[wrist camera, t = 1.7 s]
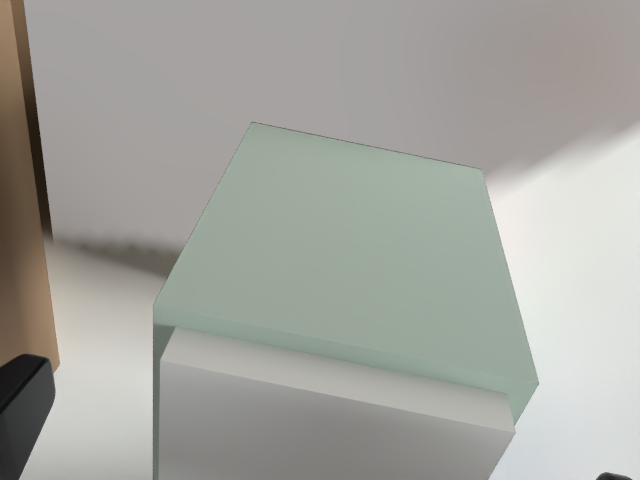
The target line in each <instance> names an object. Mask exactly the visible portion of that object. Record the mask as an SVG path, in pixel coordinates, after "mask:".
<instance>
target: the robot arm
mask: <svg viewBox="0 0 640 480" xmlns="http://www.w3.org/2000/svg"><path fill="white" fill-rule="evenodd" d="M54 399H55V383H54V377H53V370H52V364H51V361H50V359H49V358H47V357H44V356H39V355H34V354H29V353H25V354H21V355H19V356H17V357H15V358H14V359H12V360H10V361H9V362H7V363H6V364H4V365H2V366H1V367H0V480H19V478H20V476H21V474H22V472H23V469H24V467H25V465H26V463H27V461H28V458H29V456H30V454H31V452H32V450H33V447H34V445H35V443H36V441H37V438H38V436H39V434H40V432H41V430H42V427H43V425H44V423H45V421H46V419H47V416H48V414H49V412H50V410H51V407H52V405H53V402H54ZM596 480H632V479H631V478H629V477H626V476H623V475H618V474H613V473H608V472H605V473H602V474H600V475H599V476H598V478H597V479H596Z"/></svg>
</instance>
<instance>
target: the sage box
mask: <svg viewBox="0 0 640 480" xmlns="http://www.w3.org/2000/svg"><path fill="white" fill-rule="evenodd" d="M538 385H539V381H538V377H537V374H536V370H535V366H534V362H533V359H532V355H531V351H530V347H529V344H528V340H527V336H526V333H525V329H524V325H523V321H522V318H521V314H520V310H519V306H518V303H517V299H516V295H515V292H514V288H513V284H512V280H511V277H510V273H509V269H508V265H507V262H506V258H505V254H504V250H503V247H502V243H501V239H500V236H499V232H498V228H497V224H496V221H495V217H494V213H493V209H492V206H491V202H490V198H489V195H488V191H487V187H486V183H485V180H484V176H483V172H482V169H480V168H475V167H470V166H465V165H461V164H456V163H451V162H446V161H441V160H436V159H431V158H427V157H422V156H417V155H412V154H407V153H402V152H398V151H392V150H388V149H383V148H378V147H373V146H369V145H364V144H359V143H354V142H349V141H344V140H339V139H335V138H329V137H325V136H320V135H315V134H310V133H305V132H301V131H296V130H291V129H286V128H281V127H276V126H271V125H266V124H262V123H256V122H252V123H251V125H250V126H249V128H248V130H247V132H246V134H245V135H244V137H243V139H242V141H241V143H240V145H239V147H238V149H237V150H236V152H235V154H234V156H233V158H232V160H231V162H230V163H229V165H228V167H227V169H226V171H225V173H224V175H223V176H222V178H221V180H220V182H219V184H218V186H217V187H216V190H215V191H214V193H213V195H212V197H211V199H210V200H209V202H208V204H207V206H206V208H205V210H204V212H203V213H202V215H201V217H200V219H199V221H198V223H197V225H196V226H195V228H194V230H193V232H192V234H191V236H190V237H189V239H188V241H187V243H186V245H185V247H184V249H183V250H182V252H181V254H180V256H179V258H178V260H177V262H176V263H175V265H174V267H173V269H172V271H171V273H170V274H169V276H168V278H167V280H166V282H165V284H164V286H163V287H162V289H161V291H160V293H159V295H158V297H157V299H156V300H155V302H154V304H153V480H488V479H489V477H490V475H491V474H492V472H493V470H494V469H495V467H496V465H497V463H498V462H499V460H500V458H501V457H502V455H503V453H504V452H505V450H506V448H507V447H508V445H509V443H510V441H511V440H512V438H513V436H514V435H515V433H516V432H515V427H514V426H515V424H516V423H517V421H518V419H519V417H520V416H521V414H522V412H523V411H524V409H525V407H526V405H527V404H528V402H529V400H530V399H531V397H532V395H533V393H534V392H535V390H536V388H537V386H538Z"/></svg>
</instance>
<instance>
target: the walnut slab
mask: <svg viewBox="0 0 640 480" xmlns="http://www.w3.org/2000/svg"><path fill="white" fill-rule="evenodd" d="M42 234H44V235H47V236H50V237H53V233H52V225H51V217H50V209H49V201H48V193H47V185H46V176H45V169H44V160H43V152H42V145H41V136H40V129H39V121H38V112H37V104H36V96H35V88H34V80H33V72H32V64H31V56H30V48H29V40H28V32H27V24H26V15H25V7H24V0H0V367H1V366H2V365H4V364H6V363H7V362H9V361H10V360H12V359H14V358H15V357H17V356H19V355H21V354H25V353H29V354H34V355H39V356H44V357H47V358H49V359H50V361H51V364H52V370H53V373H54V372H55V370H56V369H57V367H58V366H59V364H60V361H59V354H58V346H57V339H56V332H55V324H54V317H53V309H52V302H51V295H50V287H49V280H48V272H47V265H46V258H45V250H44V243H43V236H42Z"/></svg>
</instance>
